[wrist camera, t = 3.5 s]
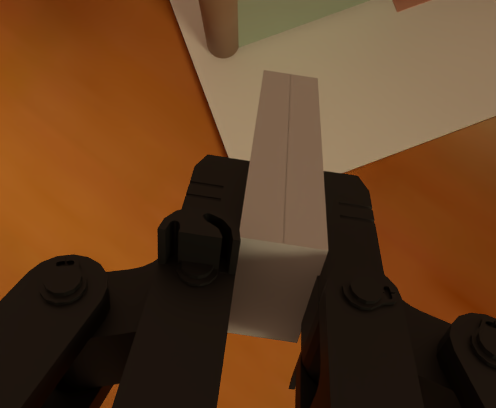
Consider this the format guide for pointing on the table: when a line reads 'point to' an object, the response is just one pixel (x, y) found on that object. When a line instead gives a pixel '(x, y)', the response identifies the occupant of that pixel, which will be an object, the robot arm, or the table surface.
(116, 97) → the table surface
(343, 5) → the fence gate
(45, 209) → the table surface
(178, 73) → the table surface
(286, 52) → the card
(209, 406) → the robot arm
